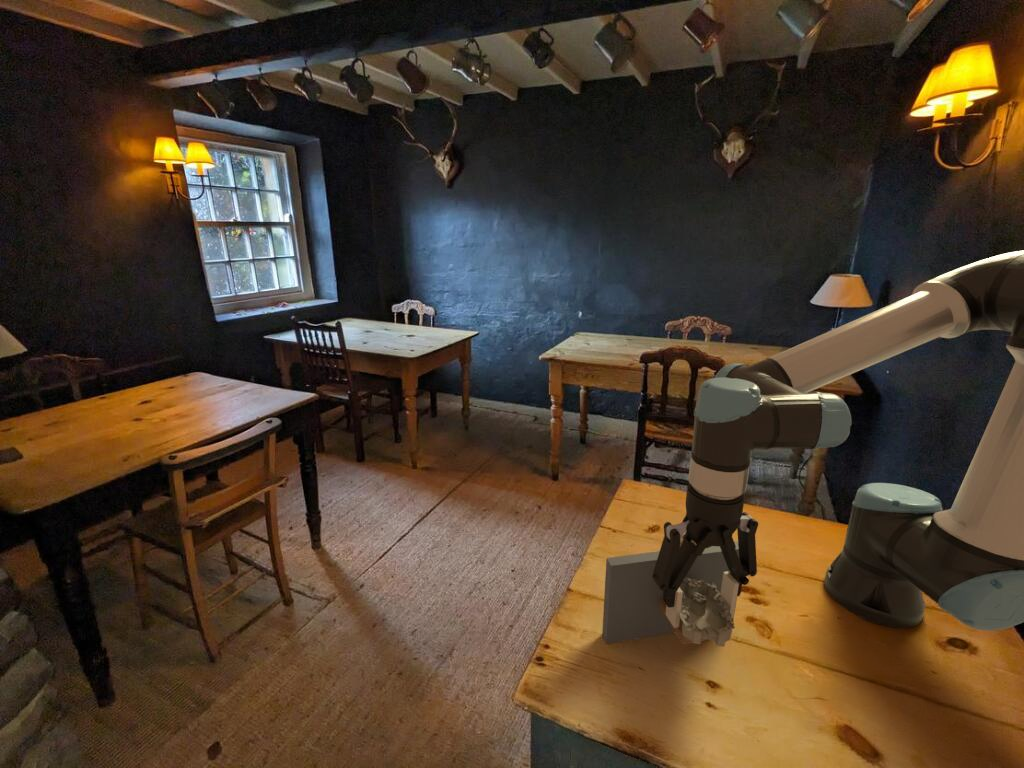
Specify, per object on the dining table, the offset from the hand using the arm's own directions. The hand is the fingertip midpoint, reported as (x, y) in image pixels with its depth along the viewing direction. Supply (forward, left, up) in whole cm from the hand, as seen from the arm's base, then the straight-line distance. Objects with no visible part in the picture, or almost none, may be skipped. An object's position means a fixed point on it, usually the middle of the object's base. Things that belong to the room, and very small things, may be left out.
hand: (699, 616), depth 72 cm
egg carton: (0, 0, -1) cm, 1 cm away
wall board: (0, -4, -10) cm, 11 cm away
